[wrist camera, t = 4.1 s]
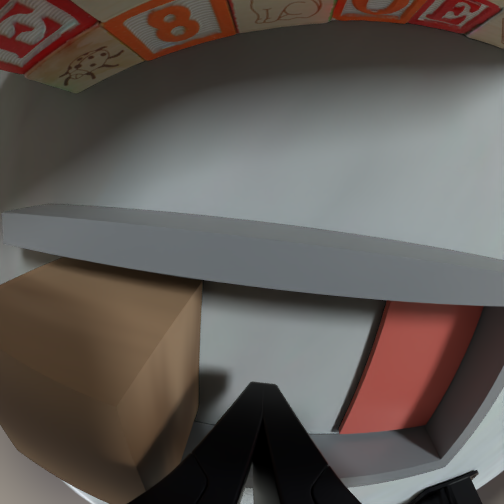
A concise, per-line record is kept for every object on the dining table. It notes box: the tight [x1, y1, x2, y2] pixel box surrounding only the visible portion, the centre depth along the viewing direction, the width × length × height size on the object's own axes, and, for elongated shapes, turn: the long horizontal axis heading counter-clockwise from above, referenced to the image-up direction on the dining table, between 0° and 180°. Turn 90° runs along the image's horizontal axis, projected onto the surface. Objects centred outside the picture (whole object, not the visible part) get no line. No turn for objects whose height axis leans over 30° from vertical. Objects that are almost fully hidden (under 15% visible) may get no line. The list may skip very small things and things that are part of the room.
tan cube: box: [0, 257, 203, 504], centre depth 6 cm, size 6×6×6 cm
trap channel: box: [2, 204, 504, 488], centre depth 8 cm, size 10×18×2 cm, turn 84°
